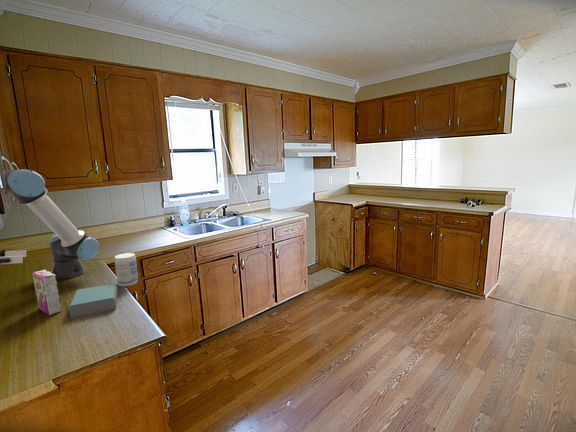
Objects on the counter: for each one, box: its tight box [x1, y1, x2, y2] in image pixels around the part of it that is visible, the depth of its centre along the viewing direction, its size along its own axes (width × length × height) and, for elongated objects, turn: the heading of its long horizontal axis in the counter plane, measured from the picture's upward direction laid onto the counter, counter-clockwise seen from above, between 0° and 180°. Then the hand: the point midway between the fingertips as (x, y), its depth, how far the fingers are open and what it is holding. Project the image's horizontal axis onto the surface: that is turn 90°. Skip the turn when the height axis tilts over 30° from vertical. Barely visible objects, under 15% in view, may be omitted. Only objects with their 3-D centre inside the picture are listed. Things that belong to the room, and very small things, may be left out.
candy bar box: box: [32, 269, 63, 316], centre depth 128 cm, size 11×5×16 cm, turn 56°
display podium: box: [68, 283, 119, 319], centre depth 134 cm, size 18×16×5 cm
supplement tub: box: [114, 252, 139, 287], centre depth 156 cm, size 10×10×15 cm
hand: (24, 256), depth 124 cm, fingers open, 13 cm apart
